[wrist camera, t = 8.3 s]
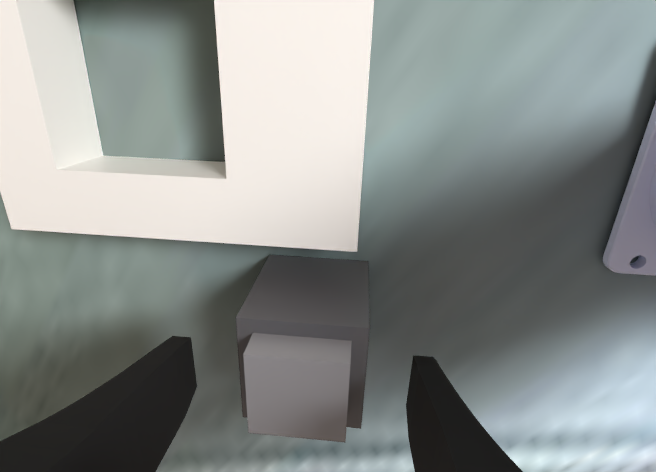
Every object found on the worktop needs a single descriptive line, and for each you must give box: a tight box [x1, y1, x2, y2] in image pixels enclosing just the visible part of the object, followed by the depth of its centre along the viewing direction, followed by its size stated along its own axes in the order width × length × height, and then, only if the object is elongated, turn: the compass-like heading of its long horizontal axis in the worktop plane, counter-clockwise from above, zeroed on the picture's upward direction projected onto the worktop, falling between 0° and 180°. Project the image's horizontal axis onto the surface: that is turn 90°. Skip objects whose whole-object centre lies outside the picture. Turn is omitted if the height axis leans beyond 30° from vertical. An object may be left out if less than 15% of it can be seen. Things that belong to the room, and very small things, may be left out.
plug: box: [236, 255, 370, 442], centre depth 14 cm, size 4×4×6 cm
